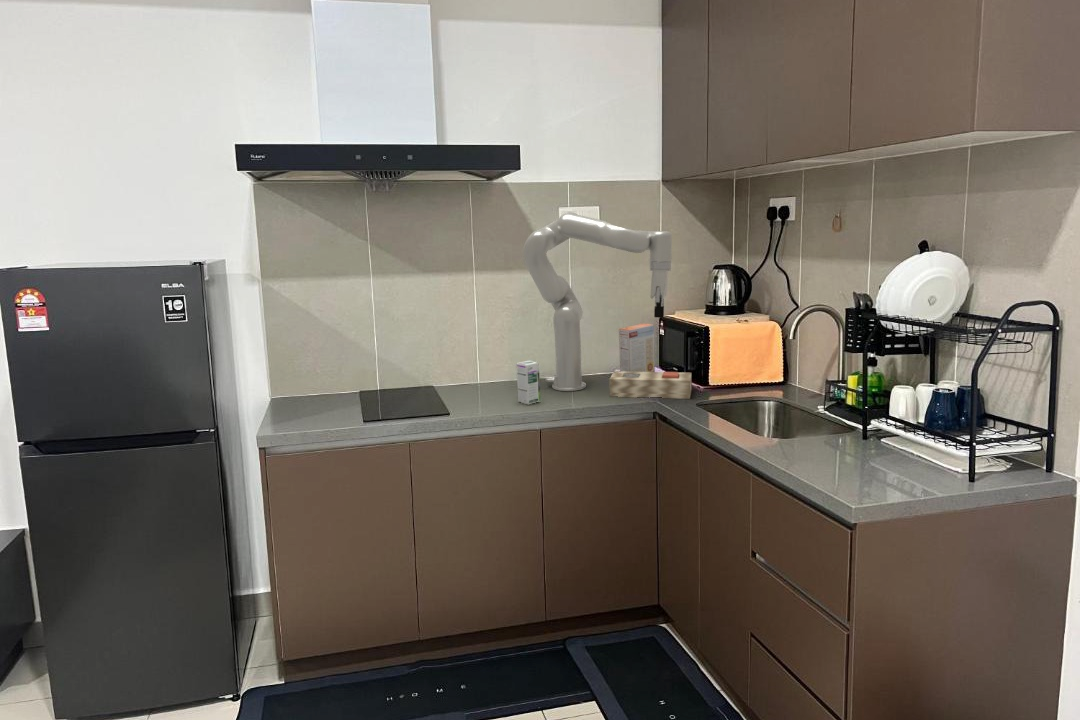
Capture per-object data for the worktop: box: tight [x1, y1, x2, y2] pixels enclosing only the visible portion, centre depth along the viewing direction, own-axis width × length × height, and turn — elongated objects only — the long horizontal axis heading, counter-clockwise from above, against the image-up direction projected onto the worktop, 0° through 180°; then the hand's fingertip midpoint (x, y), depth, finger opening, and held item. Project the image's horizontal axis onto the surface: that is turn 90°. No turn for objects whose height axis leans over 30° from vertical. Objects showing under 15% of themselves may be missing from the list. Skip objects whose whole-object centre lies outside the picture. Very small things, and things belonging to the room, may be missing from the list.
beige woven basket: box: [609, 370, 692, 400], centre depth 281 cm, size 28×12×6 cm, turn 77°
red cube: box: [663, 371, 679, 378], centre depth 279 cm, size 5×5×5 cm
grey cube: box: [623, 374, 639, 378], centre depth 283 cm, size 5×5×5 cm
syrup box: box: [516, 360, 542, 403], centre depth 275 cm, size 6×6×14 cm
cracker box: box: [618, 323, 656, 372], centre depth 300 cm, size 14×6×21 cm, turn 130°
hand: (658, 317), depth 284 cm, fingers closed
